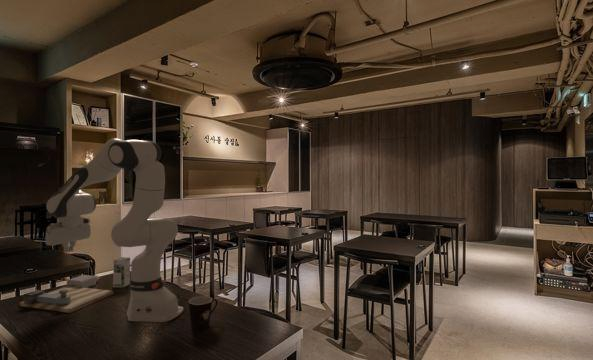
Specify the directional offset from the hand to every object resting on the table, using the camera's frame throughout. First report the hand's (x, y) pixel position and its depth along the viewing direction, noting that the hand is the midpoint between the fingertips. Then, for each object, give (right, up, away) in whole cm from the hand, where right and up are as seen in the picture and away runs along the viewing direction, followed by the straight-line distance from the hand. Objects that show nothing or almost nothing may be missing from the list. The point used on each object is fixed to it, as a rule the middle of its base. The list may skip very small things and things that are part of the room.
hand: (69, 251), depth 152 cm
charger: (-5, -22, +21) cm, 31 cm away
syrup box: (+13, -22, +20) cm, 33 cm away
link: (-4, -20, -7) cm, 21 cm away
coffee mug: (+68, -23, -25) cm, 76 cm away
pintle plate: (0, -22, 0) cm, 22 cm away
